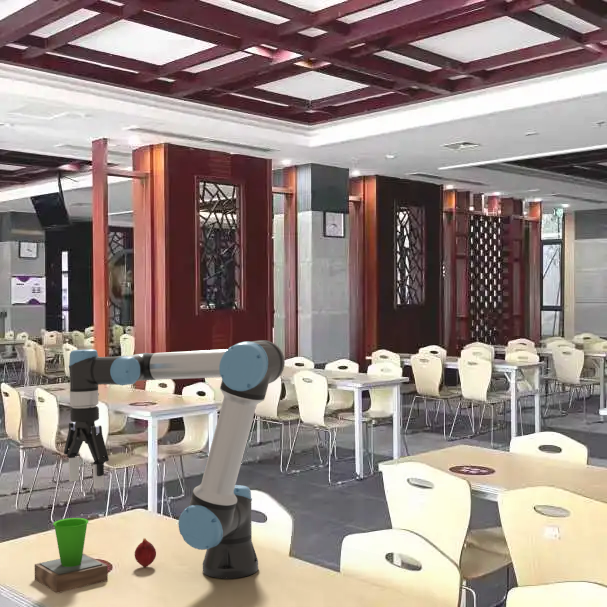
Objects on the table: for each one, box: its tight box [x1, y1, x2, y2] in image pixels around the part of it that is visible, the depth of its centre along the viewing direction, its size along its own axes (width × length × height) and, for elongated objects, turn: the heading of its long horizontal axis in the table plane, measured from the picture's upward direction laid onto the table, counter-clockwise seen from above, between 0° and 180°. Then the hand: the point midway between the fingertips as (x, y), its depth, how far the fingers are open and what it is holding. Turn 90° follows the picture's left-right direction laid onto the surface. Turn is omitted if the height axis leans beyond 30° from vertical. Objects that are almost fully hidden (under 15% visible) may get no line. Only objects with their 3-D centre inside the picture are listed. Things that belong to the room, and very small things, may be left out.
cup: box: [52, 517, 89, 567], centre depth 218 cm, size 9×9×11 cm
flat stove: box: [34, 553, 109, 594], centre depth 218 cm, size 14×14×4 cm
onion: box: [134, 537, 157, 568], centre depth 228 cm, size 6×6×8 cm
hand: (86, 484), depth 224 cm, fingers open, 13 cm apart
